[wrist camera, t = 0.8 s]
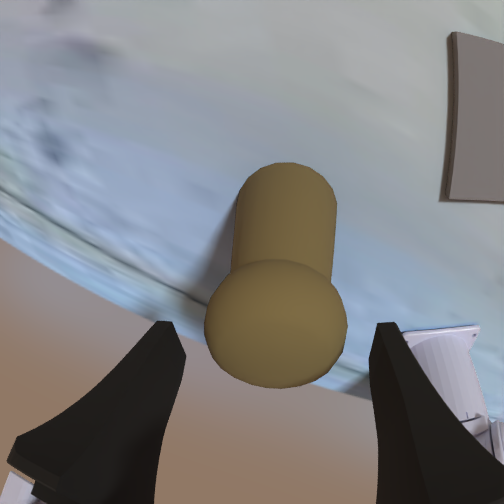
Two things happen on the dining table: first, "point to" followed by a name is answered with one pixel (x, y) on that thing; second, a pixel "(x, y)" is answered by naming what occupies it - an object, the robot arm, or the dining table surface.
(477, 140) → the slate coaster
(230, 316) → the cork
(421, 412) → the robot arm
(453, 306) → the dining table surface
